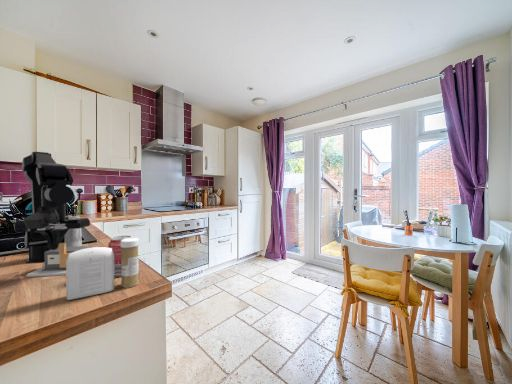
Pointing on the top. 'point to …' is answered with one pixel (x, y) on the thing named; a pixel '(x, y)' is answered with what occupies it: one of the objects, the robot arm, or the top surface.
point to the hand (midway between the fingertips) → (54, 249)
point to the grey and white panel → (54, 262)
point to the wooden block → (63, 255)
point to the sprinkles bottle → (129, 262)
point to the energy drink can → (73, 235)
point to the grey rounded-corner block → (89, 272)
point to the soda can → (117, 253)
